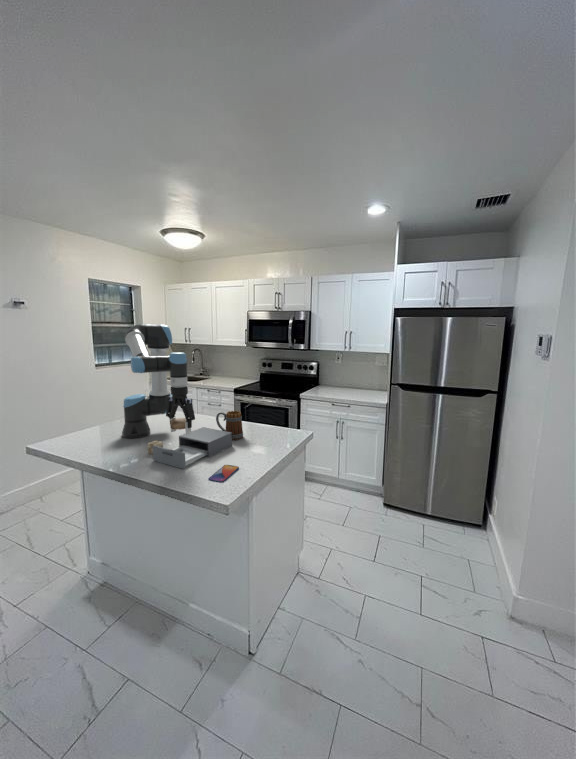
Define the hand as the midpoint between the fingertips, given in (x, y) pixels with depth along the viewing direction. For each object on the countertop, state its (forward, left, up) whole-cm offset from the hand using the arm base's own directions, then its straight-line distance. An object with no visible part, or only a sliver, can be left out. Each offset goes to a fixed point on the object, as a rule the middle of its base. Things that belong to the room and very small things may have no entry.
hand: (180, 432), depth 151 cm
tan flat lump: (0, 0, +3) cm, 3 cm away
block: (-18, 0, -13) cm, 22 cm away
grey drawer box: (0, +17, -13) cm, 21 cm away
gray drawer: (0, 0, -13) cm, 13 cm away
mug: (0, +37, -13) cm, 39 cm away
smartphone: (+28, -3, -14) cm, 31 cm away
